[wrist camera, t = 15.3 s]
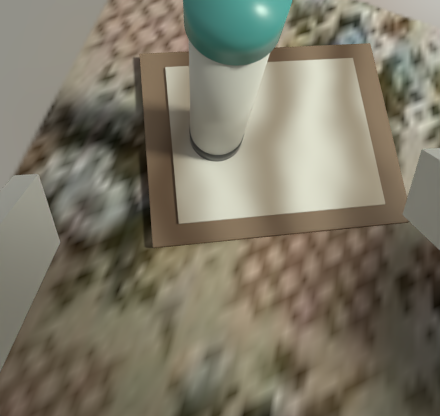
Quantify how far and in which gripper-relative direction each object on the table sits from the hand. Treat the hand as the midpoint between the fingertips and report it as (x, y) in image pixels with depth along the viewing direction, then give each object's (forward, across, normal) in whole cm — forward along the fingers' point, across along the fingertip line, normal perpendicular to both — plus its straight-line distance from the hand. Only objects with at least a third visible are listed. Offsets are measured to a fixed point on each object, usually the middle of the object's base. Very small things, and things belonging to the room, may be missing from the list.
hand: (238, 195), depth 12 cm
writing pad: (+16, +5, -4) cm, 17 cm away
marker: (+16, +1, -3) cm, 16 cm away
